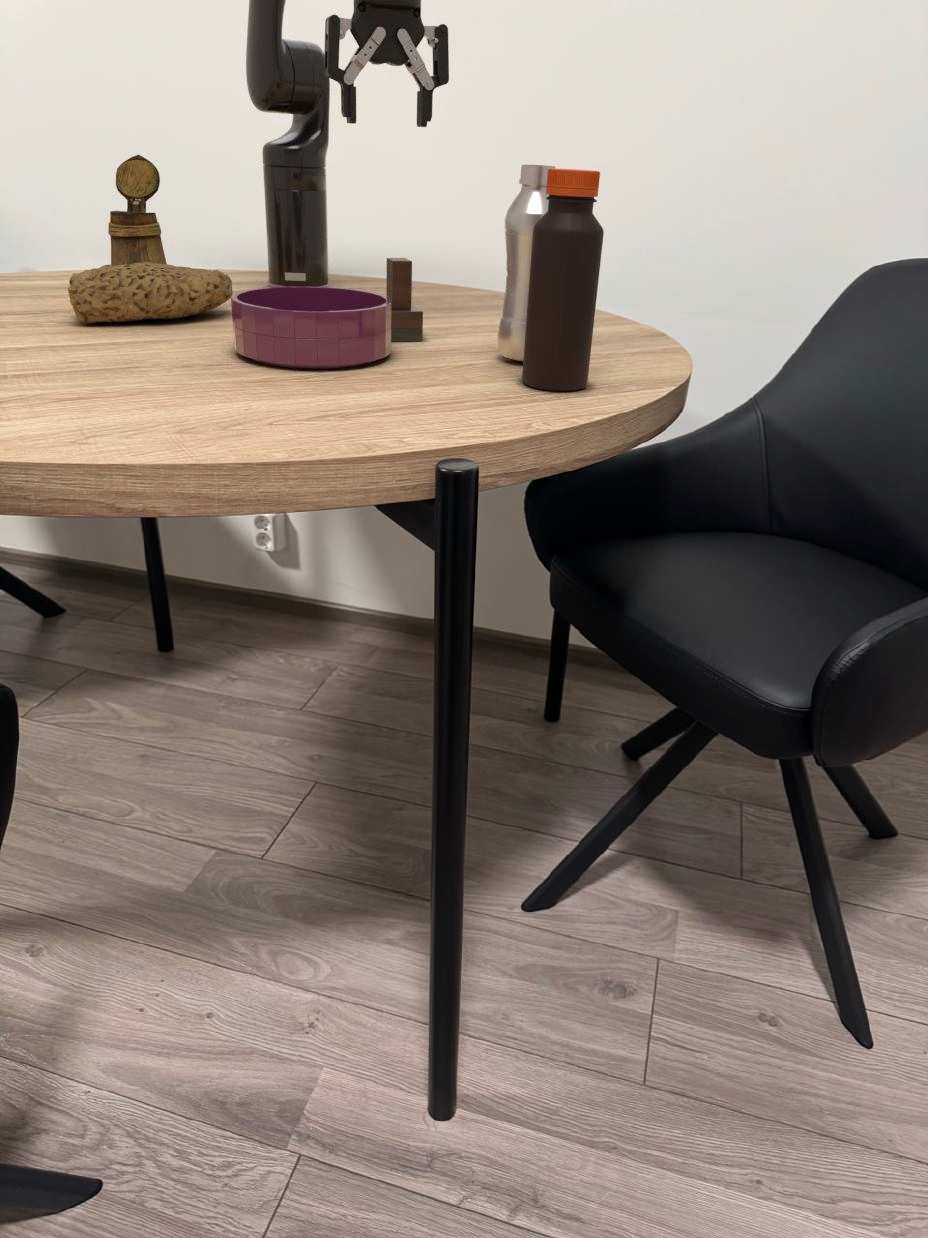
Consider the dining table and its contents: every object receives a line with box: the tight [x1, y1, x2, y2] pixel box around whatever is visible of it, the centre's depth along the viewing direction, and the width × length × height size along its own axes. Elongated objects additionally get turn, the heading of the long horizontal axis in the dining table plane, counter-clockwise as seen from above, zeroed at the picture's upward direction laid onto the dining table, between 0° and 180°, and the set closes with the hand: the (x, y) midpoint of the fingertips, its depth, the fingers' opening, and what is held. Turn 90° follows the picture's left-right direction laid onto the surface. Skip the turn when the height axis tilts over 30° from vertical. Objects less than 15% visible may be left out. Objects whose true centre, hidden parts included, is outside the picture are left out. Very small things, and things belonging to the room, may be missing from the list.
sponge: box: [67, 262, 234, 324], centre depth 115 cm, size 13×8×20 cm
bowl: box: [230, 286, 392, 370], centre depth 101 cm, size 17×17×6 cm
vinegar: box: [521, 168, 605, 392], centre depth 90 cm, size 7×7×20 cm
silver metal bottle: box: [496, 164, 556, 363], centre depth 99 cm, size 6×7×20 cm
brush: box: [386, 257, 424, 343], centre depth 111 cm, size 6×4×9 cm
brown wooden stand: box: [107, 154, 168, 266], centre depth 128 cm, size 9×14×18 cm, turn 8°
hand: (386, 124), depth 107 cm, fingers open, 8 cm apart
